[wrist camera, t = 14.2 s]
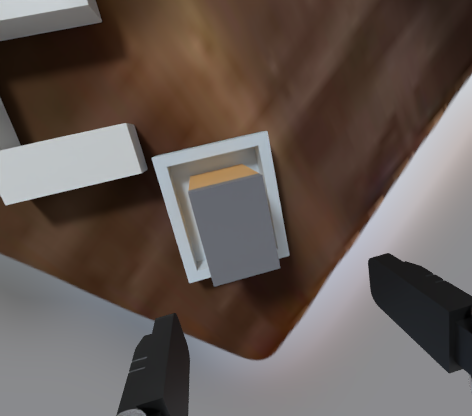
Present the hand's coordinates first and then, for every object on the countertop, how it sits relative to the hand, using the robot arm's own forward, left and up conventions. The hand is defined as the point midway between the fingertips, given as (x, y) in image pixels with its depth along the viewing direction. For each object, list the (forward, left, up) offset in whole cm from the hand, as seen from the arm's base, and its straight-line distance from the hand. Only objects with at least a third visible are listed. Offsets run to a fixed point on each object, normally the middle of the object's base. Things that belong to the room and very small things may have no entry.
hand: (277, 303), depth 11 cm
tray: (0, 0, -17) cm, 17 cm away
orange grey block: (0, 0, -16) cm, 16 cm away
